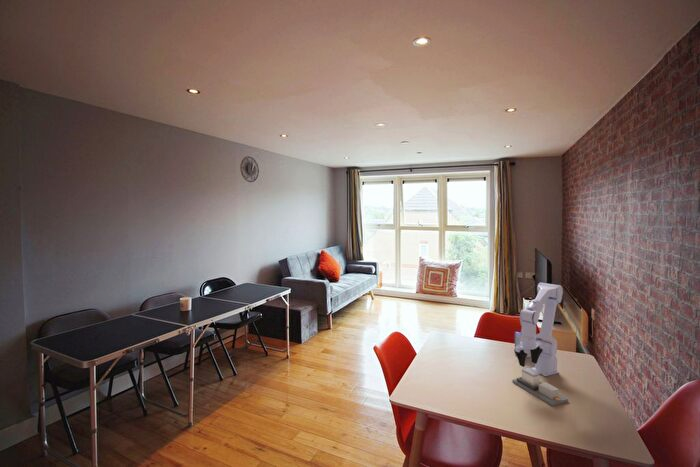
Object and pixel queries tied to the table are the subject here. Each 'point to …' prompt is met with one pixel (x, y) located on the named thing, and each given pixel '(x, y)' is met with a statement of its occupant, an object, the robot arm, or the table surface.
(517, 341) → the ink cartridge box
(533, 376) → the plug
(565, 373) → the table surface
